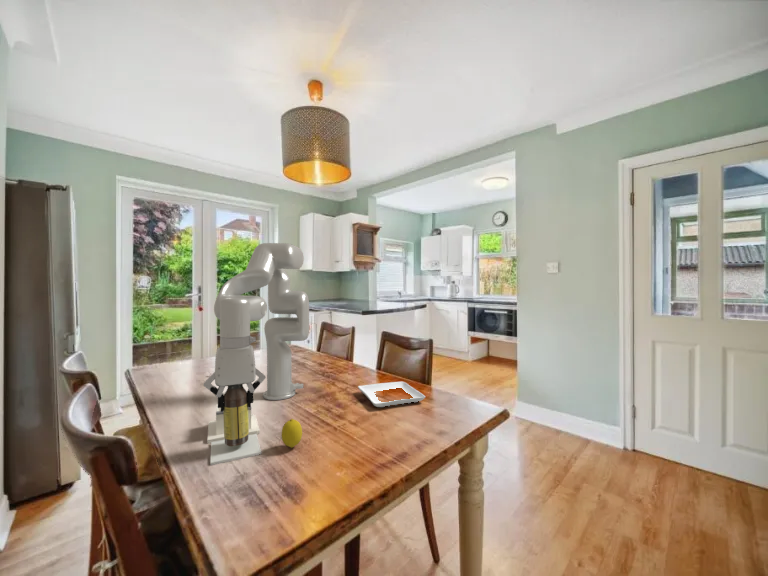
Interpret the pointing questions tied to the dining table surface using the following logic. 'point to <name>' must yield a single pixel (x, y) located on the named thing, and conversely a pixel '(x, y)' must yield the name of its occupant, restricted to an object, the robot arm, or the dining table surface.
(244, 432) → the sauce bottle
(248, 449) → the mat
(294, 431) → the lemon
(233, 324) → the robot arm
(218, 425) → the caddy
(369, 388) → the salad plate
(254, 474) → the dining table surface
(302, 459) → the dining table surface
